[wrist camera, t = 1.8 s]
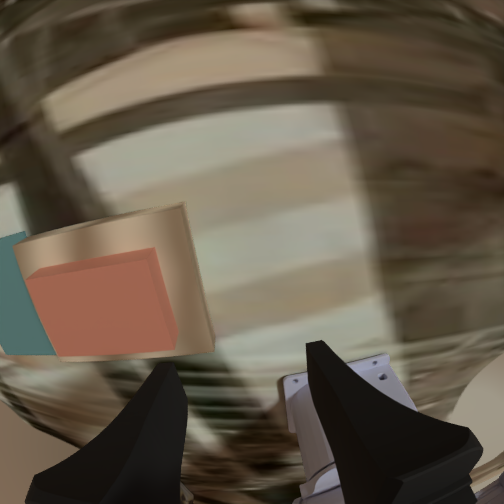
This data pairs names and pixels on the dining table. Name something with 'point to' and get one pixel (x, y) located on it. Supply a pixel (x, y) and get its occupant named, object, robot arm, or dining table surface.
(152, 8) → the dining table surface
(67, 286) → the pink rubber eraser
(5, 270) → the mat
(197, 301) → the block
